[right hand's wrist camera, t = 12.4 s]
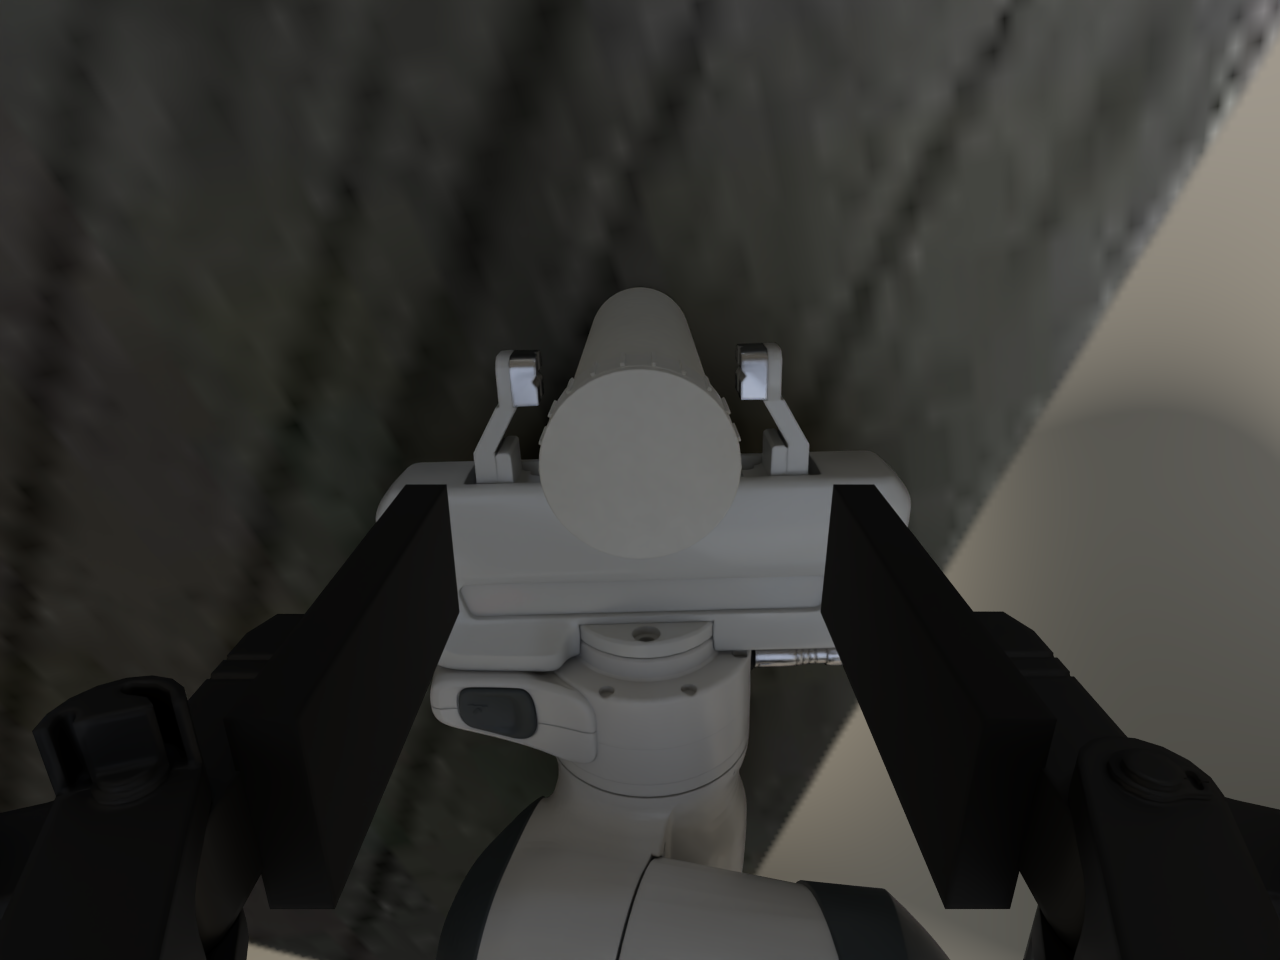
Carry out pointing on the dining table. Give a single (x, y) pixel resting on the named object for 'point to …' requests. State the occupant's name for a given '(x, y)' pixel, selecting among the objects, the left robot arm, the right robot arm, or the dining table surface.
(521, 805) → the dining table surface
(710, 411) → the lid
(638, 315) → the jar
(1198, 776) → the right robot arm
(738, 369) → the left robot arm
